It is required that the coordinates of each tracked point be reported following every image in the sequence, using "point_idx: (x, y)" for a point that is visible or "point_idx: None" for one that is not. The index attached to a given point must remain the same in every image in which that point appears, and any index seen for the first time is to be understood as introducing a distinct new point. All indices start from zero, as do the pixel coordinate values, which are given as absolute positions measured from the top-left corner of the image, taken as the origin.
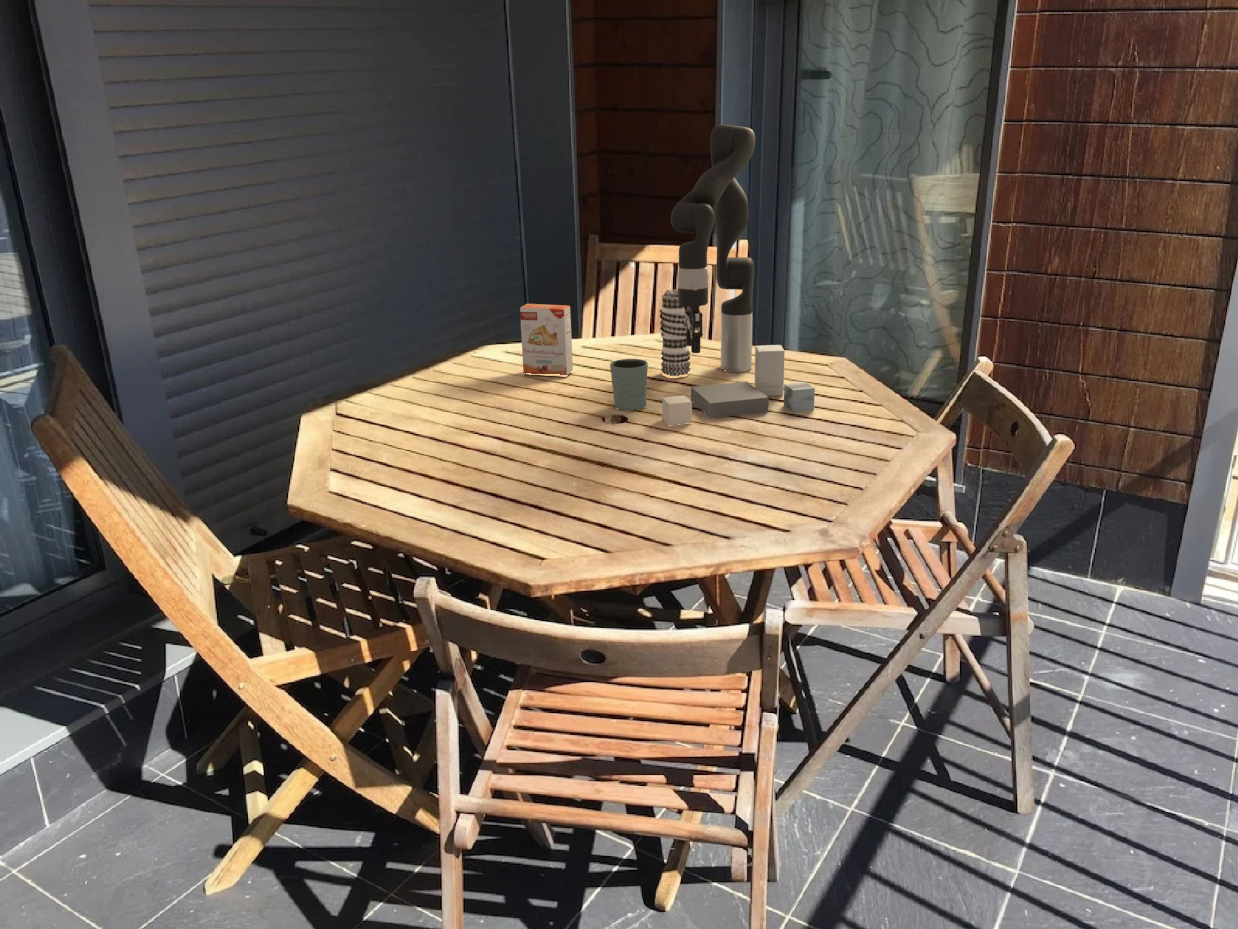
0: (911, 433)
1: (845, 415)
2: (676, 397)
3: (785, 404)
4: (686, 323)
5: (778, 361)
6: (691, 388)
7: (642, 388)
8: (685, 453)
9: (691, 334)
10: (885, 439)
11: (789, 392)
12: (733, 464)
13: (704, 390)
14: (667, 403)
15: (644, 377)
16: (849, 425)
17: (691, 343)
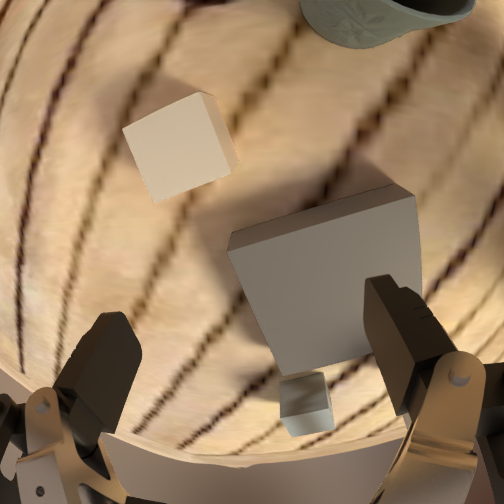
0: (189, 451)
1: (257, 427)
2: (202, 145)
3: (315, 378)
4: (387, 487)
5: (408, 418)
6: (409, 195)
7: (332, 17)
8: (15, 192)
9: (28, 413)
10: (161, 434)
11: (299, 406)
12: (8, 269)
13: (370, 236)
14: (138, 120)
15: (354, 12)
16: (209, 424)
17: (82, 355)
